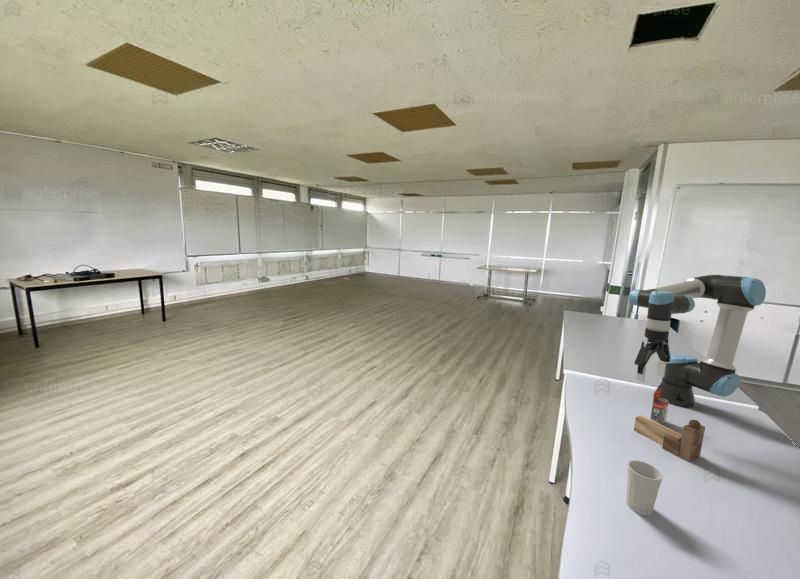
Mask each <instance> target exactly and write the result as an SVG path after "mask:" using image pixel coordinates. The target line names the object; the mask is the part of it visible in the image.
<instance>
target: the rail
mask: <svg viewBox="0 0 800 579" xmlns="http://www.w3.org/2000/svg"><path fill="white" fill-rule="evenodd" d="M633 426H634V427H633V431H635V433H638V434H640V435H642V436H643V437H645V438H646V439H649V440H651V441H653V442H655V443H657V444H659V445H661V446H663V440H664V436H668V437H670V438H672V439H674V440H676V441H678V442H680V443H681V438H682V433H681V432H680V433H679V432H677V431H676V430H673V429H671V428H669V427H667V426H665V425H663V424H662V425H661V424H659V423H657V422H655V421H653V420H651V419H650V418H649V417H646V416H644V415H638V416H635V422H634V425H633Z"/></svg>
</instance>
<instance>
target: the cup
mask: <svg viewBox="0 0 800 579" xmlns="http://www.w3.org/2000/svg"><path fill="white" fill-rule="evenodd" d="M663 478H664V477H663V473H662V472H661V471H660V470H659V468H657V467H655V466H654V465H652V464H650V463H648V462H645V461H641V460H636V459H633V460H632V459H631V460H629V461H628V462H627V481H626V482H627V483H626V497H625V499H626V500H625V504H626V505H627V507H628V508H629V509H631V510H632V511H633V512H635V513H637V514H639V515H642V516H645V517H650V516H652V515H653V512H654V508H655V503H656V500H657V497H658V492H659V490H660V487H661V483H662V481H663Z"/></svg>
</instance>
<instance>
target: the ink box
mask: <svg viewBox="0 0 800 579" xmlns="http://www.w3.org/2000/svg"><path fill="white" fill-rule="evenodd" d="M661 390H662V388H660V389H658V390H655V391H654V392H653V399H652V405H651V411H650V418H649V419H651V420H653V421H655V422H657V423H659V424H661V425H663V424H664V423H665V422H667V416H668V408H669V404H670V403H669V401H668V400H665V399H662V398H660V394H661ZM658 391H659V392H658Z"/></svg>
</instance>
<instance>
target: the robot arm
mask: <svg viewBox="0 0 800 579" xmlns="http://www.w3.org/2000/svg"><path fill="white" fill-rule="evenodd" d="M766 291H767V290H766V287H765V284H764V282H763V281H762V280H761V279H759V278H756V277H748V276H738V275H737V276H735V275H723V274H722V275H721V274H706V275H701V276H695V277H691V278H690V277H689V278H687V279H685V280H683V282H679V283H674V284H669V285H665V286H660V287H655V288H651V289H642V288H641V289H638V288H636V289H633V290H632V291H630V293H629V295H628V302H629V303H630V304H631V305H632V306H636V307H640V308H645V309H647V316H646V319H645V321H646V322H645V327H646V328H645V330H644V337H645V338H646V339H647V341H645V340H644V341H642V342H641V345H640V349H639V351H638V353H637V356H636V357H635V360H634V365H637V369H636V370H637V372H636V378H635V380H636V381H638V382H641V383H645V381H646V375H647V374H646V372H647V366H646V365H647V364H648V362H649V360H651V357H652V355H654V354H656V355H657V356H658V358H659V359H658V360H657V365H656V366H657V367H656V372H655V373H656V376H659V377H661V378H662V379H661V382H660V383H659V385H658V386H657V388H656V390H658V389H660V388H662V390H661V394H660V398H662V399H665V400H668V401H669V403H668V404H670V405H674V406H679V407H683V408H686V407H687V408H691V407H694V406H695V403H696V399H695V396H694V395H695V394H694V391H693V387H694V388H697V389H700V390H702V391H705V392H707V393H710V394H711V395H716V396H719V397H724V398H725V397H729V396H731V395H732V394H735V392H736V391H737V389H738V388H739V386H740V384H741V376H740V375H739V374H737V373H736V371H737V369H736V367H735V366H734V359H735V358H736V357H735V356H736V354H737V349H738V346H739V342H740V340H741V336H742V332H743V329H744V325H745V323H746V319H747V316H748V313H749V312H752V311H754V310H755V307H757V306H760V305H762V304H764V303H763V302H765V299H766V294H767V292H766ZM697 298H704V299H709V300H710V299H711V300H715V301H717V302H716V304H717V306H718V307H719V311H718V314H717V315H718V316H717V320H716V322H715V325H714V328H713V333H712V336H711V339H710V340H711V341H710V343H709V348H708V349H707V353H706V354H707V355H706V357H705V358H703V359H701V360H700V362H698V358H697V357H695V356H692V355H686V354H685V355H684V354H676V353H675V354H673V353H672V354H671V353H670V352H671V351H670V345H669V335H670V332H669V330H670V328H671V319H672V315H677V314H680V315H681V314H685V313H690V312H692V311H693V310H694V308H695V307H696V303H695V300H694V299H697ZM656 390H655V391H656ZM658 392H659V391H658Z"/></svg>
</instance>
